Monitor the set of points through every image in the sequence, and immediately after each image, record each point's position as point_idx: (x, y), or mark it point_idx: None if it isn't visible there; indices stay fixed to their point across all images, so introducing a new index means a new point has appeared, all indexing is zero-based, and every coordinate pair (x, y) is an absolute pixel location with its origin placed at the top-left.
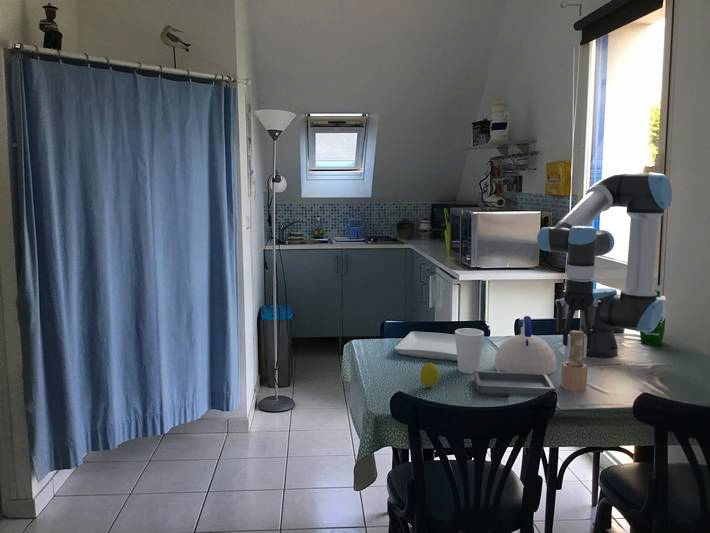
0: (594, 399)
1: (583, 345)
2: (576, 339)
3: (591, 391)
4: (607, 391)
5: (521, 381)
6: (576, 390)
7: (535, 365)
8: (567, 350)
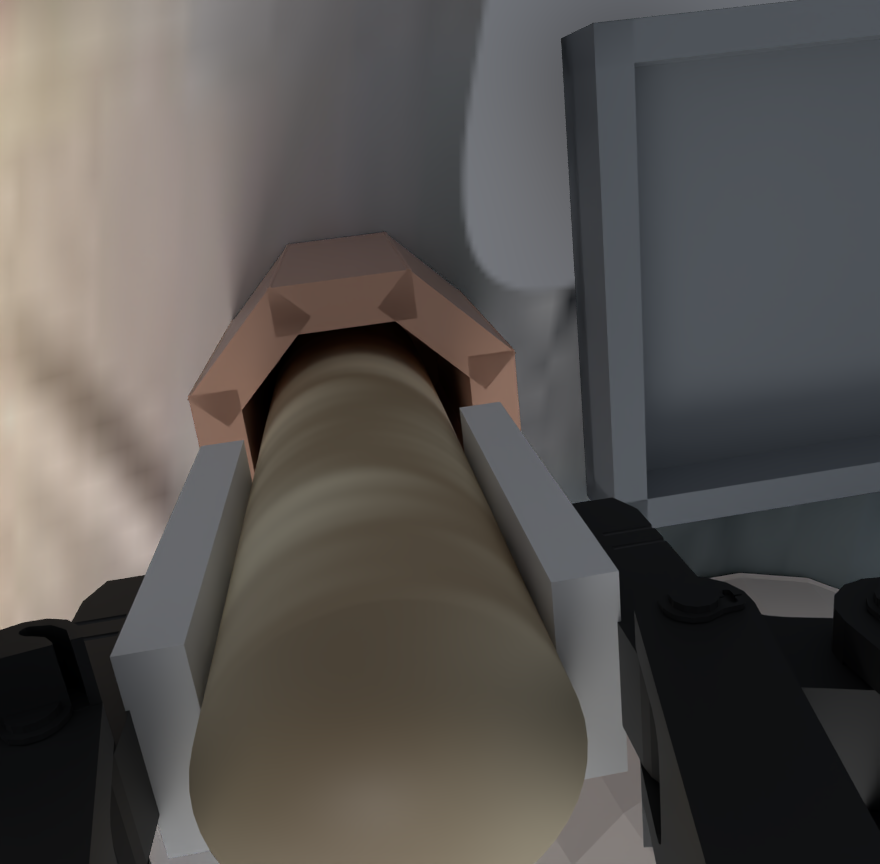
0: (154, 117)
1: (228, 568)
2: (401, 524)
3: (176, 367)
4: (16, 409)
5: (825, 397)
6: (332, 242)
7: None
8: (526, 447)
